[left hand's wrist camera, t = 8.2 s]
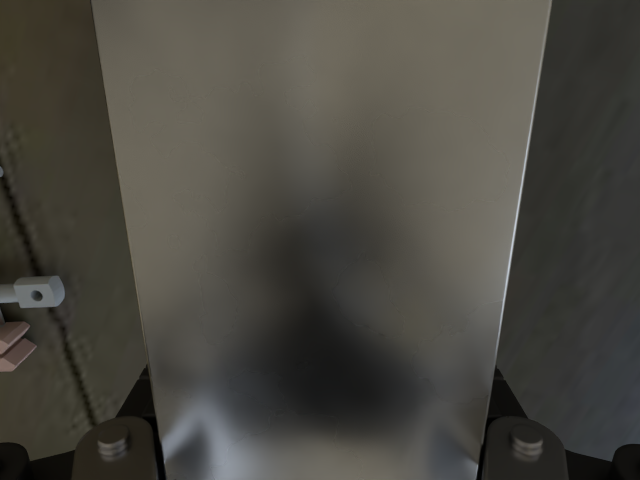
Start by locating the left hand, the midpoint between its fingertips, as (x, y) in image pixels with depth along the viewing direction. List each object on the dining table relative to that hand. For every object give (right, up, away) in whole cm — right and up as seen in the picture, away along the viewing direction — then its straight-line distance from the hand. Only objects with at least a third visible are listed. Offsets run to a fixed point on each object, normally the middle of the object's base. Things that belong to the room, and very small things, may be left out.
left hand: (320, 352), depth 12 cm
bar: (0, +10, +1) cm, 10 cm away
